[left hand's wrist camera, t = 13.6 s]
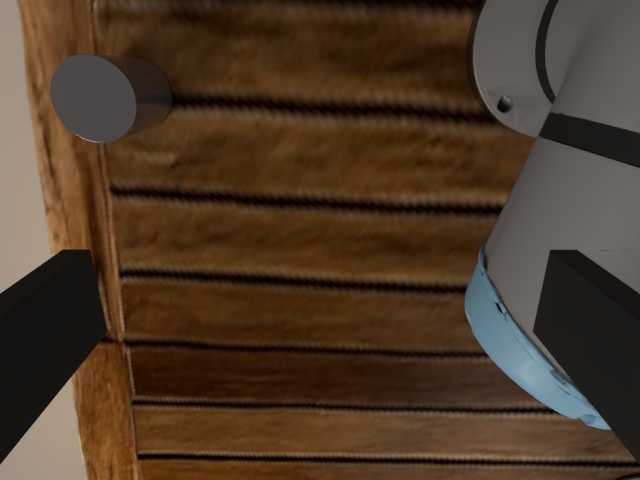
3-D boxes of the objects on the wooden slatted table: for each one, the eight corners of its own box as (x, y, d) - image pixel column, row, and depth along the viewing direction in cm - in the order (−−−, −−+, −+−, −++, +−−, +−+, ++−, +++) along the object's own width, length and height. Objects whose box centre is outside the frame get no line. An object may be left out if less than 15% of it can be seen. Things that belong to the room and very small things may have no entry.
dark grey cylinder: (167, 57, 37) (128, 53, 29) (176, 129, 39) (142, 143, 31) (97, 57, 37) (40, 53, 29) (110, 129, 39) (60, 143, 31)
